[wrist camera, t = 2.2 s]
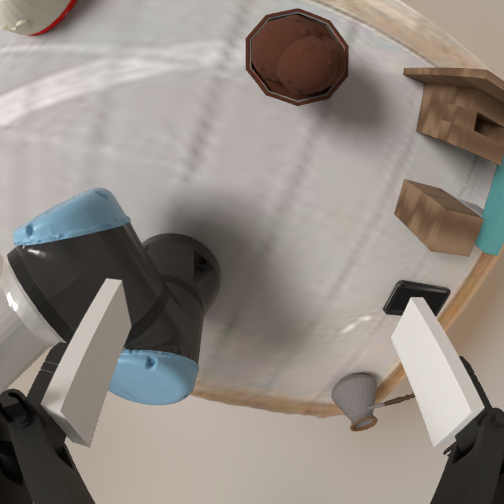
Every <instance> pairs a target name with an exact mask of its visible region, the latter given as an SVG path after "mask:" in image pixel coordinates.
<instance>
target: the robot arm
mask: <svg viewBox="0 0 504 504" xmlns="http://www.w3.org/2000/svg"><path fill="white" fill-rule="evenodd" d="M130 222H131V220H130V218H129V217H128V216H126V215H125V213H124V211H123V210H122V208H121V206H120V205H119V203H118V202H117V200H116V198H115V197H114V195H113V194H112V193H111V192H110V191H109V190H107V189H104V188H94V189H91V190H89V191H86V192H84V193H81V194H79V195H77V196H75V197H73V198H70V199H68V200H66V201H64V202H62V203H60V204H58V205H56V206H54V207H53V208H51V209H49V210H47V211H45V212H43V213H42V214H40V215H38V216H36V217H35V218H33V219H31V220H30V221H28V222H27V223H25V224H23V225H21V226H20V227H19V228H17V229H16V230H15V231H14V232H13V239H14V240H13V242H14V244H15V245H17V247H16V248H14V249H13V250H12V251H11V252H10V253H8V254H7V255H6V256H5V258H4V266H3V275H2V278H1V280H0V504H33V503H34V504H95V502H94V500H93V499H92V497H91V495H90V493H89V492H88V490H87V488H86V486H85V484H84V482H83V480H82V478H81V476H80V474H79V472H78V470H77V468H76V466H75V464H74V462H73V459H72V457H71V455H70V453H69V450H68V448H67V446H66V444H65V443H64V441H65V438H66V435H67V437H68V438H69V439H70V440H71V441H72V442H74V443H78V444H81V445H84V446H87V447H90V445H91V442H92V438H93V435H94V432H95V428H96V425H97V422H98V419H99V415H100V412H101V409H102V406H103V403H104V400H105V397H106V394H107V391H110V392H112V393H113V394H115V395H117V396H119V397H121V398H124V399H126V400H130V401H132V402H137V403H141V404H147V405H167V404H172V403H176V402H179V401H181V400H183V399H185V398H186V397H187V396H189V394H190V393H191V392H192V390H193V388H194V385H195V381H196V377H197V373H198V371H199V367H198V360H199V352H200V343H201V335H202V327H203V319H204V315H205V313H206V312H207V310H208V309H209V307H210V306H211V305H212V303H213V302H214V300H215V298H216V296H217V294H218V290H219V284H220V270H219V266H218V264H217V261H216V259H215V258H214V256H213V255H212V253H211V252H210V251H209V250H208V249H207V248H206V247H205V246H204V245H202V244H201V243H200V242H198V241H196V240H194V239H192V238H190V237H187V236H184V235H180V234H160V235H156V236H153V237H151V238H149V239H147V240H146V241H144V242H143V243H141V241H140V240H139V238H138V236H137V234H136V232H135V231H134V229H133V227H132V225H131V223H130ZM391 339H392V342H393V344H394V346H395V348H396V351H397V353H398V355H399V358H400V360H401V362H402V365H403V367H404V370H405V372H406V374H407V377H408V379H409V382H410V384H411V387H412V389H413V392H414V395H415V397H416V400H417V402H418V405H419V408H420V410H421V413H422V416H423V418H424V421H425V424H426V427H427V430H428V433H429V435H430V439H431V441H432V444H433V447H436V446H439V445H443V444H445V443H447V442H449V441H450V440H451V439H452V438H453V437H454V436H455V438H456V442H454V443H453V444H452V445H451V446H450V447H448V448H447V449H446V450H445V451H444V453H443V454H444V455H445V454H446V453H447V452H449V451H450V450H451V452H450V454H448V455H447V456H448V457H449V458H448V461H447V463H446V466H445V469H444V472H443V474H442V477H441V480H440V482H439V484H438V487H437V489H436V492H435V494H434V496H433V498H432V501H431V503H430V504H504V412H503V411H502V410H501V409H499V408H492V406H491V405H490V403H489V400H488V398H487V396H486V394H485V392H484V390H483V388H482V386H481V384H480V382H478V379H477V377H476V375H474V371H473V369H472V368H471V366H470V364H469V363H468V362H467V361H466V360H465V359H464V358H463V357H462V356H458V355H457V353H456V351H455V349H454V348H453V346H452V344H451V342H450V340H449V339H448V337H447V335H446V334H445V332H444V330H443V329H442V327H441V325H440V324H439V322H438V320H437V319H436V317H435V315H434V314H433V312H432V311H431V309H430V307H429V306H428V304H427V303H426V301H425V300H424V298H423V297H411V298H410V300H409V302H408V304H407V307H406V309H405V311H404V313H403V315H402V317H401V319H400V321H399V323H398V325H397V327H396V329H395V331H394V333H393V335H392V337H391ZM50 347H53V348H52V349H51V350H50V352H49V354H48V355H47V357H46V359H45V362H44V363H43V365H42V367H41V371H39V373H38V375H37V377H36V379H35V381H34V383H33V385H32V387H31V389H30V391H29V393H28V395H27V397H25V395H24V394H23V393H22V392H20V391H19V390H16V389H8V390H6V389H7V388H8V387H9V386H10V385H11V384H12V383H13V382H14V381H15V380H16V379H17V378H18V377H19V376H20V375H21V374H22V373H23V372H24V371H25V370H26V369H28V368H29V367H30V366H31V365H32V364H33V363H34V362H35V361H36V360H37V359H38V358H39V357H40V356H41V355H42V354H43V353H44V352H45V351H46V350H47V349H48V348H50ZM5 390H6V391H5ZM32 500H33V501H32Z"/></svg>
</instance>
